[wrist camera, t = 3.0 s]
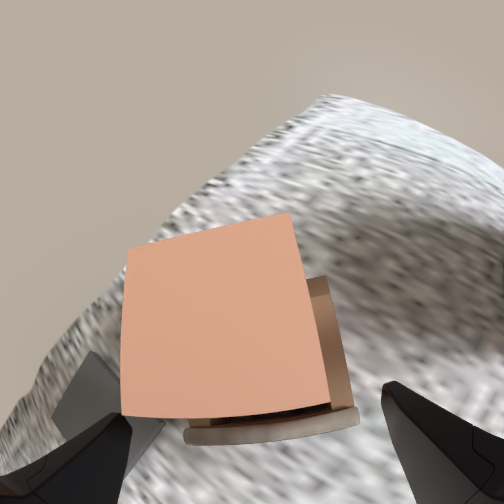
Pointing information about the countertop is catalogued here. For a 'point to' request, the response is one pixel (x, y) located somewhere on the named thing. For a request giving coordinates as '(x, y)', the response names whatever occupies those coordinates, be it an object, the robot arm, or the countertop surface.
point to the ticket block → (220, 325)
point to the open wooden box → (300, 424)
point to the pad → (101, 407)
